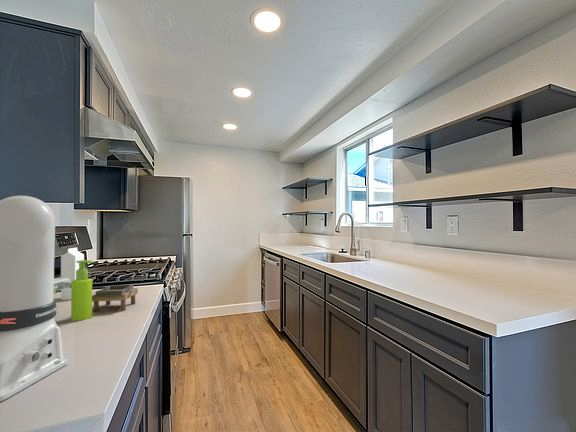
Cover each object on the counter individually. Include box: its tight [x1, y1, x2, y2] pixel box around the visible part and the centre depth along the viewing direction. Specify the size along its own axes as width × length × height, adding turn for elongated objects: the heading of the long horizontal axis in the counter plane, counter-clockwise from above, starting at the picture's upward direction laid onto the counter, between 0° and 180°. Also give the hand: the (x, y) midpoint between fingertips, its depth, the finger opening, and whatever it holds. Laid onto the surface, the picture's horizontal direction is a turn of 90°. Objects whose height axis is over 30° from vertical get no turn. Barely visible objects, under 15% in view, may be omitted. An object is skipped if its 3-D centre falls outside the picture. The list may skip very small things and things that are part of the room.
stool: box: [92, 284, 138, 313], centre depth 113 cm, size 11×12×8 cm
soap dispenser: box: [70, 259, 95, 322], centre depth 101 cm, size 6×7×20 cm
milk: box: [60, 247, 85, 301], centre depth 128 cm, size 6×6×22 cm
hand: (66, 287), depth 101 cm, fingers open, 8 cm apart
